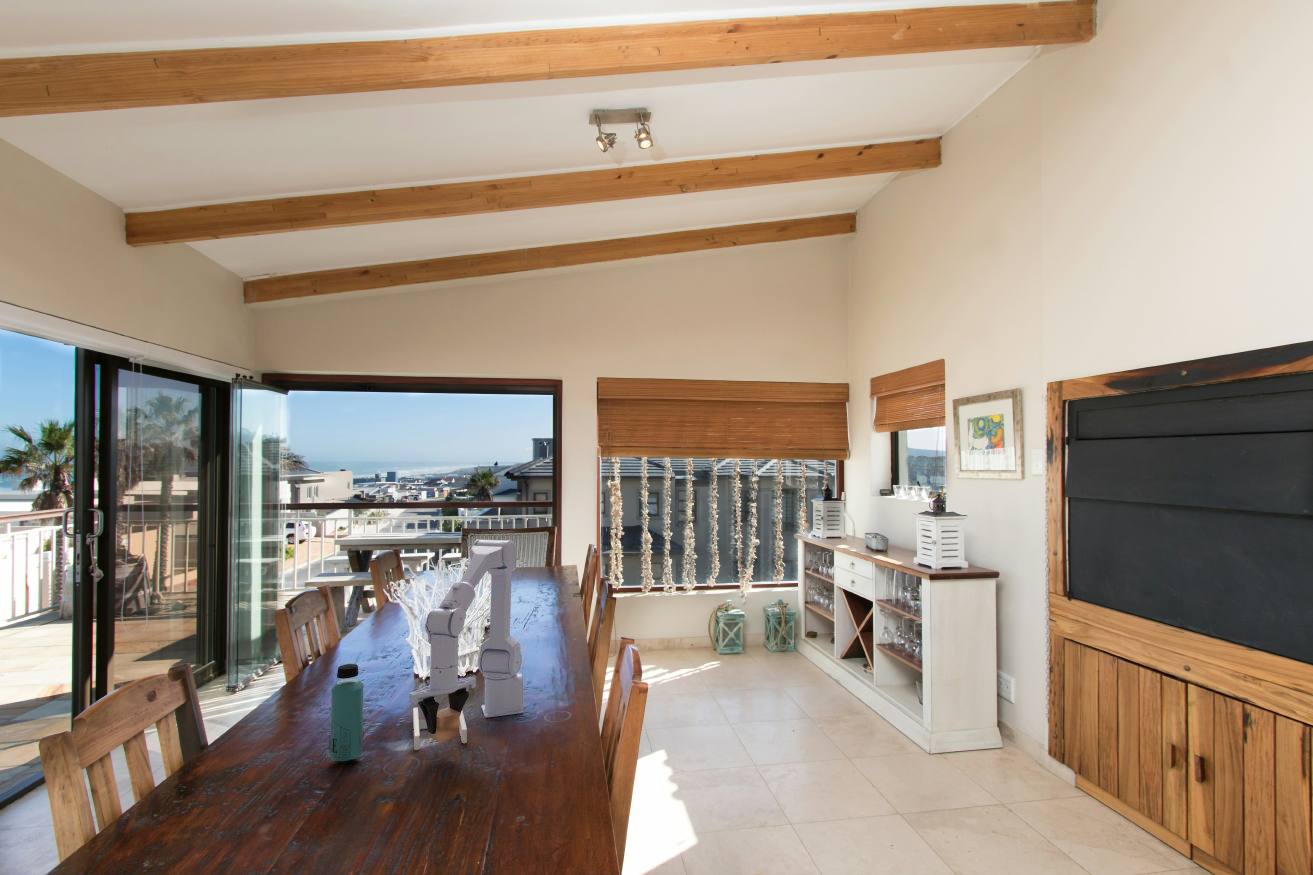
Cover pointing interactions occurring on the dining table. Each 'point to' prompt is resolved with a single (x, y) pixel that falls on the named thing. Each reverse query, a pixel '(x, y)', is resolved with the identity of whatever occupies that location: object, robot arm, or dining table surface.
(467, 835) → the dining table surface
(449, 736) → the block
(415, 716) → the channel
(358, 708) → the beverage bottle
